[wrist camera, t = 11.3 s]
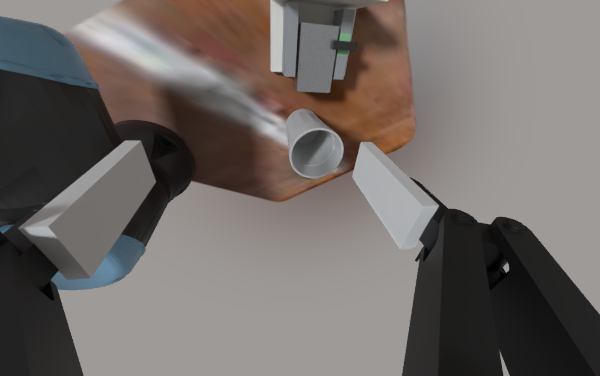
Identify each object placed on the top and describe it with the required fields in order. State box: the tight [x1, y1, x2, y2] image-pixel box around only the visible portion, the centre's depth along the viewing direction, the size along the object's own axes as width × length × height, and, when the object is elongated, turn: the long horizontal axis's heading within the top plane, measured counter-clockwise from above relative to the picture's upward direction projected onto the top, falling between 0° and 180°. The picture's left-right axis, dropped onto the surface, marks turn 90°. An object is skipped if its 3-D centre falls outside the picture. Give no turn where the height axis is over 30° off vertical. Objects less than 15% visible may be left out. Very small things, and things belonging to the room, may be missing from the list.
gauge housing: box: [270, 0, 388, 80], centre depth 28 cm, size 12×10×10 cm
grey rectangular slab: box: [293, 22, 357, 93], centre depth 31 cm, size 8×8×5 cm
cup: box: [286, 109, 344, 178], centre depth 36 cm, size 8×8×12 cm
